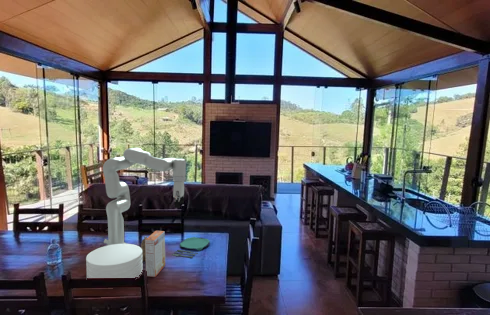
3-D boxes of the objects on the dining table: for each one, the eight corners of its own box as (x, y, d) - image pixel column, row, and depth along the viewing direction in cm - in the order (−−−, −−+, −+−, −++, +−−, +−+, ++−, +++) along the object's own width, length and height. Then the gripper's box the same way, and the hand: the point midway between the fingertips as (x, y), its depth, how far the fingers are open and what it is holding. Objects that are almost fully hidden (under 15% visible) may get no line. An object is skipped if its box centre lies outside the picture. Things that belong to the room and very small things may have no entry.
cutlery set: (214, 241, 214) (214, 238, 213) (194, 260, 185) (194, 256, 185) (189, 238, 219) (188, 235, 219) (166, 255, 191) (166, 252, 191)
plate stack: (105, 260, 181) (105, 242, 179) (150, 263, 178) (150, 245, 177) (74, 285, 153) (73, 263, 152) (127, 289, 150) (127, 267, 149)
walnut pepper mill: (139, 261, 181) (139, 238, 179) (144, 257, 186) (143, 235, 184) (147, 261, 180) (147, 238, 178) (151, 258, 185) (151, 235, 183)
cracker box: (155, 264, 176) (155, 230, 174) (165, 265, 176) (165, 230, 173) (144, 276, 163) (144, 239, 160) (155, 277, 162) (155, 239, 160)
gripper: (176, 176, 196) (176, 202, 197) (169, 181, 178) (169, 209, 180) (188, 176, 196) (188, 202, 197) (182, 181, 178) (182, 209, 180)
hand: (179, 205), depth 189 cm, fingers open, 9 cm apart
